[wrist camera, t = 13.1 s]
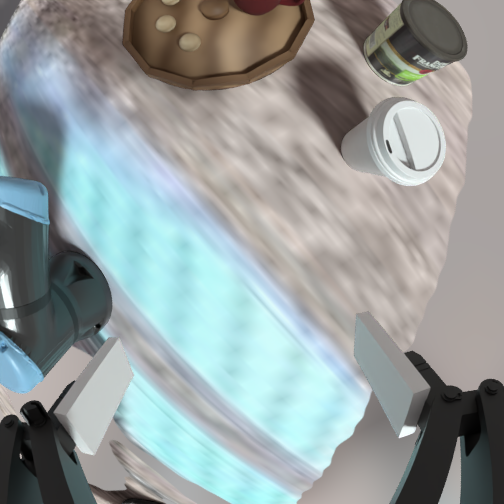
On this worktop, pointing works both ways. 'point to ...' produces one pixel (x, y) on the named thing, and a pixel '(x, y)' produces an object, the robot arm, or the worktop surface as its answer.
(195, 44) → the bead
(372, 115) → the coffee cup
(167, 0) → the bead
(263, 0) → the mug
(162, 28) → the bead
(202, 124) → the worktop surface
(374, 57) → the coffee can
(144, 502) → the pressure cooker
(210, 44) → the ring tray
